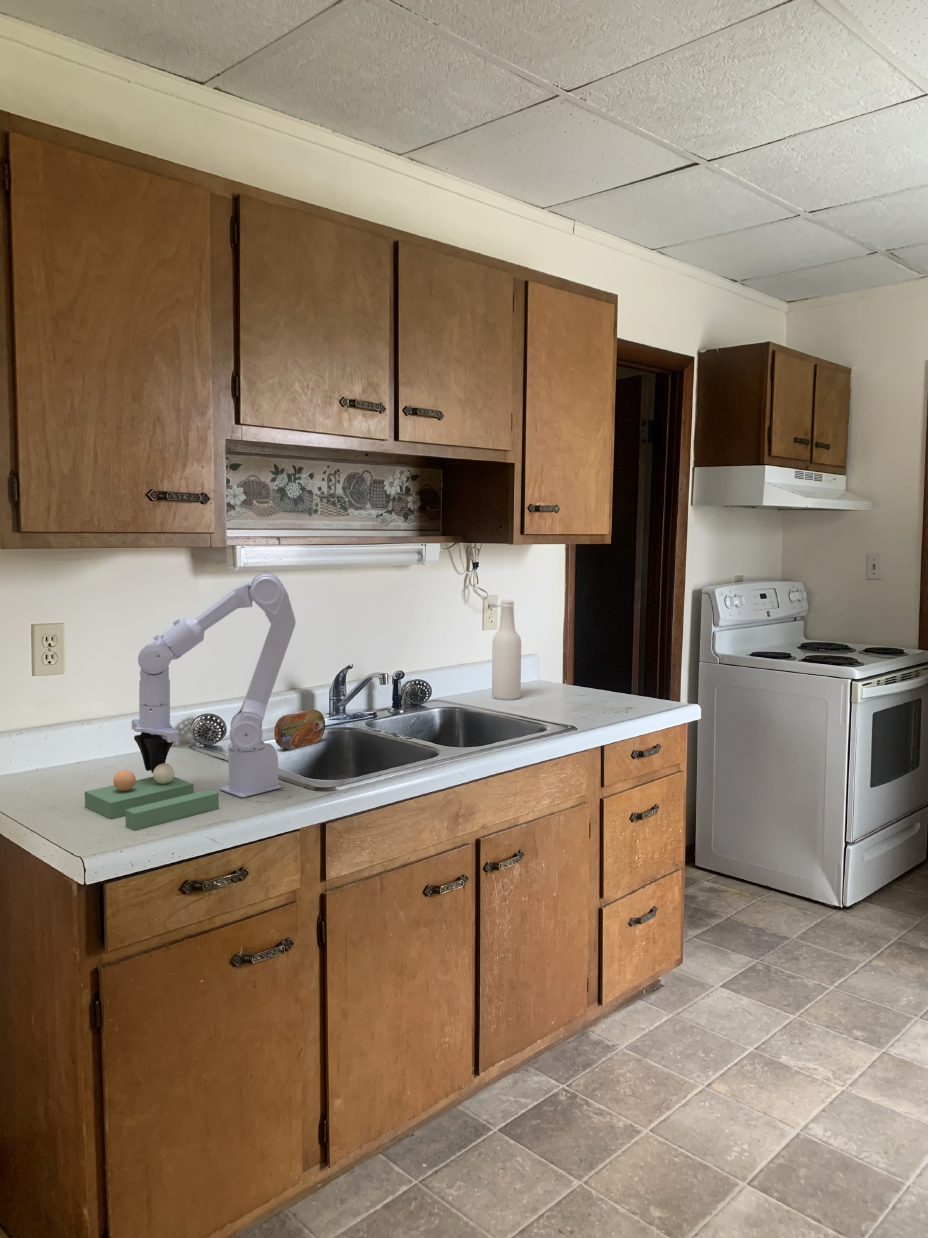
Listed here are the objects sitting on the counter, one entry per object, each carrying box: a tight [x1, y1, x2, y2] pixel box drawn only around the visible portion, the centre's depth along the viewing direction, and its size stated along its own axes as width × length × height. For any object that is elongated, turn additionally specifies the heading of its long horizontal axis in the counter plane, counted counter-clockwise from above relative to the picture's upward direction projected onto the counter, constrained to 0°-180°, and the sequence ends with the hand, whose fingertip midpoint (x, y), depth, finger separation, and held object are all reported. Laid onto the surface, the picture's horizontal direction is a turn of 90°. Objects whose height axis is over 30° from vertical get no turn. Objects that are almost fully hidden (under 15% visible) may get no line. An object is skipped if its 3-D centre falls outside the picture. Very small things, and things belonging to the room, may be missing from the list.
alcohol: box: [491, 599, 522, 701], centre depth 284 cm, size 9×9×30 cm
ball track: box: [84, 776, 220, 831], centre depth 176 cm, size 17×19×3 cm
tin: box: [273, 709, 326, 751], centre depth 224 cm, size 15×3×8 cm, turn 144°
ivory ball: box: [152, 762, 176, 784], centre depth 181 cm, size 4×4×4 cm
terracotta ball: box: [112, 769, 137, 791], centre depth 176 cm, size 4×4×4 cm
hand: (154, 771), depth 183 cm, fingers closed
